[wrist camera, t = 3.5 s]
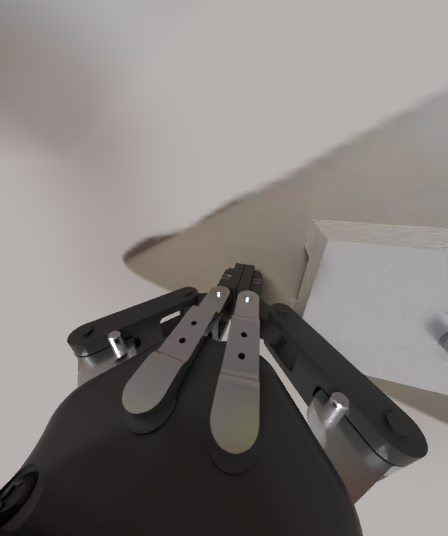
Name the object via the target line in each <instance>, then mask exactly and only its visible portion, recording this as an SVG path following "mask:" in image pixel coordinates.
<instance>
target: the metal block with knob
mask: <svg viewBox="0 0 448 536" xmlns="http://www.w3.org/2000/svg"><path fill="white" fill-rule="evenodd" d="M305 249H306V251H307V254H308V256H309V260H308V264H307V267H306V270H305V274H304V277H303V281H302V284H301V288H300V291H299V295H298V298H297V299H293V298H291V300H290V304H289V307H290V308H292V309H293V310H294V311H295V312H296V313H297V314H298V315H299V316H300V317H301V318H302V319H304V320H305V321H306V322H307V323H308V324H309V325H310V326H311V327H312V328H313V329H314V330H316V331H317V332H318V333H319V334H320V335H321V336H322V337H323V338H324V339H325V340H326V341H328V342H329V343H330V344H331V345H332V346H333V347H334V348H335V349H336V350H337V351H338V352H340V353H341V354H342V355H343V356H344V357H345V358H346V359H347V360H348V361H349V362H350V363H352V364H353V365H354V366H355V367H356V368H357V369H358V370H359V371H360V372H361V373H362V374H364V375H368V376H372V377H376V378H380V379H384V380H388V381H392V382H396V383H400V384H405V385H409V386H413V387H417V388H421V389H425V390H429V391H433V392H437V393H441V394H445V395H448V228H435V227H419V226H404V225H389V224H374V223H359V222H344V221H329V220H314V219H312V220H311V224H310V227H309V231H308V235H307V239H306V243H305Z"/></svg>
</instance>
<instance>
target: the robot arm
mask: <svg viewBox="0 0 448 536" xmlns="http://www.w3.org/2000/svg"><path fill="white" fill-rule="evenodd" d="M254 269H255V266H254V265H245V264H239V263H236V265H235V267H234V269H232V268H229V269H227V270H226V271H225V272H224V274H223V276H222V278H221V280H220V282H219V283H218V285H217V286H215V287H213V288H211V289H210V291H209V292H208V293H198V291H197V289H195V288H193V287H184V288H181V289H179V290H176V291H173V292H171V293H168V294H165V295H162V296H160V297H157V298H155V299H152V300H149V301H147V302H144V303H141V304H138V305H135V306H133V307H130V308H128V309H125V310H122V311H119V312H116V313H114V314H111V315H108V316H106V317H103V318H101V319H98V320H95V321H92V322H89V323H87V324H84V325H82V326H80V327H78V328H77V329H75V330H74V331H73V332H72V333H71V334H70V335H69V337H68V339H67V342H68V344H69V345H70V347H71V348H72V350H73V351H74V354H75V356H76V357H77V359H78V388H77V389H75V390H74V391H73V392H72V393H71V394H70V395H69V396H68V397H66V399H65V400H64V401H63V402H62V403H61V404H60V406H59V407H58V408H57V409H56V411H55V412H54V414H53V415H52V417H51V419H50V421H49V423H48V425H47V426H46V429H45V431H44V432H43V434H42V436H41V438H40V440H39V442H38V443H37V445H36V446H35V448H34V450H33V451H32V453H31V454H30V456H29V457H28V458H27V460H26V461H25V463H24V464H23V465H22V467H21V468H20V469H19V471H18V472H17V473H16V474H15V476H14V477H13V478H12V479H11V480H10V481H9V482H8V483H7V484H6V485H5V486H4V487H3V488H2V489H1V490H0V536H363V534H362V529H361V525H360V521H359V518H358V515H357V512H356V509H355V506H354V504H355V503H356V502H357V501H358V500H359V499H360V498H361V497H362V496H363V495H364V494H365V493H366V492H367V491H368V490H369V489H370V488H371V487H372V486H373V485H374V484H375V483H376V482H378V481H380V480H382V479H384V478H385V477H387V476H389V475H391V474H392V473H394V472H396V471H398V470H400V469H402V468H404V467H406V466H408V465H409V464H411V463H413V462H415V461H417V460H419V459H421V458H422V457H424V456H425V455H426V454H427V451H428V446H427V442H426V439H425V437H424V435H423V433H422V432H421V430H420V429H419V427H418V426H417V424H416V423H415V422H414V421H413V420H412V419H411V418H410V417H409V416H408V415H407V414H406V413H405V412H404V411H403V410H402V409H400V408H399V407H398V406H397V405H396V404H395V403H394V402H393V401H392V400H391V399H390V398H389V397H387V396H386V395H385V394H384V393H383V392H382V391H381V390H380V389H379V388H378V387H377V386H375V385H374V384H373V383H372V382H371V381H370V380H369V379H368V378H367V377H366V376H365V375H364V374H362V373H361V372H360V371H359V370H358V369H357V368H356V367H355V366H354V365H353V364H352V363H350V362H349V361H348V360H347V359H346V358H345V357H344V356H343V355H342V354H341V353H340V352H338V351H337V350H336V349H335V348H334V347H333V346H332V345H331V344H330V343H329V342H328V341H326V340H325V339H324V338H323V337H322V336H321V335H320V334H319V333H318V332H317V331H316V330H314V329H313V328H312V327H311V326H310V325H309V324H308V323H307V322H306V321H305V320H304V319H302V318H301V317H300V316H299V315H298V314H297V313H296V312H295V311H294V310H293V309H292V308H290V307H289V306H287V305H285V304H281V303H276V304H273V305H271V306H269V305H267V304H265V303H264V302H262V300H261V299H260V290H261V283H262V274H261V273H260V272H254ZM177 311H180V315H178V316H176V317H174V318H172V319H170V320H168V321H165V322H163V323H160V321H161V319H162V318H164V317H166V316H168V315H170V314H173V313H175V312H177ZM231 315H233V316H232V320H231V325H230V330H229V335H228V339H227V341H221V340H222V337H223V335H224V333H225V331H226V328H227V326H228V324H229V318H230V316H231ZM260 338H261V339H263V340H264V344H265V346H266V347H267V349H268V350H269V351H270V353H271V354H272V355H273V357H274V359H275V360H276V361H277V363H278V364H279V366H280V367H281V368H282V370H283V371H284V373H285V374H286V376H287V377H288V378H289V380H290V381H291V382H292V384H293V385H294V387H295V388H296V390H297V391H298V393H299V394H300V396H301V397H302V398H303V400H304V401H305V403H306V404H307V406H308V409H307V419H308V422H309V424H310V427H311V428H312V430H313V432H314V433H313V432H312V430H311V428H310V427H309V425H308V424H307V422H306V420H305V419H304V417H303V415H302V414H301V412H300V411H299V409H298V407H297V406H296V404H295V403H294V401H293V399H292V398H291V396H290V394H289V393H288V391H287V390H286V388H285V386H284V385H283V383H282V381H281V380H280V378H279V377H278V375H277V373H276V372H275V370H274V369H273V368H272V366H271V365H270V364H269V363H268V362H267V361H266V360H265V359H264V358H263V357H262V356H260V355H259V341H260Z"/></svg>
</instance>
